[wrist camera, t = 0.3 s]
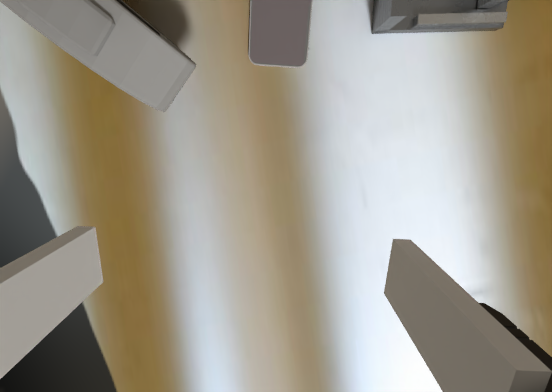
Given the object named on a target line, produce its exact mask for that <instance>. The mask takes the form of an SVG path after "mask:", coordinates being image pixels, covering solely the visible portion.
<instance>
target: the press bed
mask: <svg viewBox="0 0 552 392" xmlns="http://www.w3.org/2000/svg"><path fill="white" fill-rule="evenodd" d="M508 1H509V0H504V1H503V2H501V3H499V4H497V5H495V6H493V7H491V8H477V6H478V0H374V7H373V23H372V34H378V33H418V32H458V31H496V30H498V29H501V28H503V25H504V23H505V22H506V19H507V13H508V12H506V8H507V2H508Z"/></svg>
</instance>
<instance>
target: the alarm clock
mask: <svg viewBox="0 0 552 392" xmlns="http://www.w3.org/2000/svg"><path fill="white" fill-rule="evenodd" d="M0 2H2V3H3V4H4V5H5V6H7V7H8V8H9V9H10V10H12V11H13V12H14V13H15V14H17V15H18V16H19V17H20V18H22V19H23V20H24V21H25V22H27V23H28V24H29V25H31V26H32V27H33V28H35V29H36V30H37V31H39V32H40V33H41V34H43V35H44V36H45V37H47V38H48V39H49V40H51V41H52V42H53V43H55V44H56V45H57V46H59V47H60V48H62V49H63V50H64V51H66V52H67V53H69V54H70V55H71V56H73V57H74V58H76V59H77V60H78V61H80V62H81V63H83V64H84V65H86V66H87V67H88V68H90V69H91V70H93V71H94V72H96V73H97V74H99V75H100V76H102V77H103V78H105V79H106V80H108V81H109V82H111V83H112V84H114V85H115V86H117V87H118V88H120V89H121V90H123V91H125V92H126V93H128V94H130V95H131V96H133V97H135V98H136V99H138V100H139V101H141V102H143V103H145V104H147V105H149V106H151V107H153V108H154V109H157V110H160V111H163V112H165V111H166V110H167V109H168V107H169V106H170V104H171V103H172V101H173V100H174V98H175V97H176V95H177V94H178V93H179V91H180V90H181V88H182V87H183V85H184V84H185V82H186V81H187V79H188V78H189V76H190V75H191V73H192V72H193V70H194V69H195V67H196V64H195V63H194V62H193V61H192V60H191V59H190V58H189V57H188V56H187V55H186V54H185V53H183V52H182V51H181V50H180V49H179V48H178V47H177V46H175V45H174V44H173V43H172V42H171V41H170V40H168V39H167V38H166V37H165V36H164V35H163V34H161V33H160V32H159V31H158V30H157V29H155V28H154V27H153V26H152V25H151V24H150V23H148V22H147V21H146V20H145V19H144V18H142V17H141V16H140V15H139V14H138V13H137V12H135V11H134V10H133V9H132V8H131V7H129V6H128V5H127V4H126V3H125V2H123V1H122V0H0Z"/></svg>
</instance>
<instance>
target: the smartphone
mask: <svg viewBox="0 0 552 392" xmlns="http://www.w3.org/2000/svg"><path fill="white" fill-rule="evenodd" d="M312 1H313V0H250V29H249V59H250V61H251V62H252V63H253V64H255V65H260V66H277V67H288V68H289V67H290V68H301V67H303V66H304V65H305V64H306V62H307V57H308V46H309V35H310V24H311V13H312Z"/></svg>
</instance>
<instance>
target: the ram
mask: <svg viewBox="0 0 552 392" xmlns="http://www.w3.org/2000/svg"><path fill="white" fill-rule="evenodd" d="M503 1H504V0H478V6H477V8H491V7H493V6H495V5H497V4H499V3H501V2H503Z"/></svg>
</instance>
